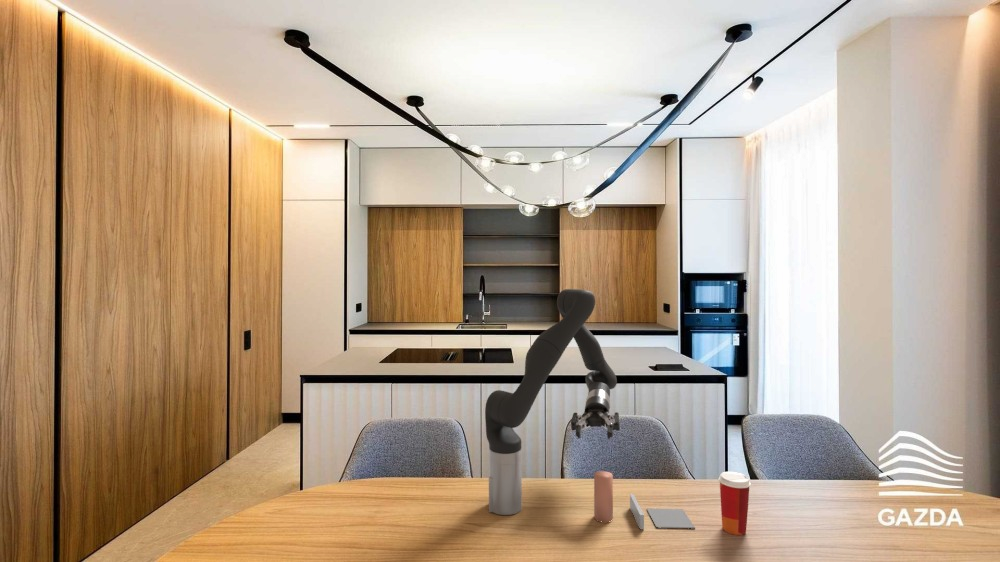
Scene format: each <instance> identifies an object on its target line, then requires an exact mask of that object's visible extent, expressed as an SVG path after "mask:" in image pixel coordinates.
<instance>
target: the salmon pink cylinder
mask: <svg viewBox="0 0 1000 562" xmlns="http://www.w3.org/2000/svg"><path fill="white" fill-rule="evenodd" d="M593 486H594V487H593V490H594V493H593V498H594V499H593V501H594V502H593V515H594V516H593V517H595V518H594V520H595V519H596V520H595V521H597V520H598V521H602V522H608V523H610V522H609V521H611V520H612V519H613V518H614V474H613V473H611V472H609V471H606V470H605V471H604V470H598V471H595V472H594V474H593ZM598 521H597V522H598ZM612 521H613V520H612ZM612 521H611V522H612ZM602 522H601V523H602Z"/></svg>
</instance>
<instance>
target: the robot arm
mask: <svg viewBox="0 0 1000 562" xmlns="http://www.w3.org/2000/svg"><path fill="white" fill-rule="evenodd" d="M556 298H557V300H556V305H557V310H558V312H559V314H560V316H561V319H560V320H559V321H558V322H557V323H555V324H554V325H552V326H550V327H549V328H547V329H546V330H544V331H543V332H541V333H540V334H539V335H538V336H537V338H536V339H535V340H534V342H533V343H532V344H531V345H530V347H529V349H528V351H527V352H526V355H525V362H524V363H525V365H524V375H523V378H522V380H521V382H520V383H519V385H518V386H517V388H516V389H515V391H513V392H509V391H505V390H501V389H499V390H494V391H492V392H491V393H490V394H489V395H488V397H487V400H486V403H485V408H484V416H485V417H484V419H485V432H486V433H485V434H486V436H485V437H486V439H487V442H488V450H489V452H488V454H489V455H488V460H489V467H488V468H489V469H488V471H489V472H488V474H489V475H488V513H493V514H496V515H498V516H499V515H501V516H511V515H514V514H515V515H516V514H518V513H519V512H521V510H522V508H523V507H522V505H523V504H522V503H523V498H522V495H523V494H522V493H523V492H522V484H523V483H522V480H523V479H522V476H523V475H522V439H521V437H520V436H519V434H517V432H515V430H514V429H515V428H517V427H519V426H520V425H521V424H523V422H524V421H525V419H527V416H528V414H529V413H530V411H531V408H532V407H533V406H534V405H533V404H534V403H535V401H536V398H537V397H538V394H539V393H540V391H541V389H542V387H543V386H544V384H545V382H546V381H547V379H548V378H549V376H550V374H551V372H552V371H553V370H554V368H555V366H557V364H558V363H559V360H560V359H561V357H562V356H563V354H564V352H565V351H566V349H567V347H568V346H569V344H570V343H571V342H572V340H573V339H574V341H575V343H576V345H577V347H578V350H579V353H580V355H581V357H582V358H581V359H582V361H583V363H584V366H585V368H586V369H587V370H588V371H590V372H588V373H587V374H586V375H585V384H586V387H587V389H588V392H587V396H586V400H585V405H584V412H583V413H582V414H578V412H573V414H572V417H571V420H570V428H571V431H575V437H577V438H578V439H581V438H582V432H583V430H587V429H589V428H590V427H591V428H593V427H598V428H600V427H602V428H604V430H606V435H607V439H609V440H610V439H611V438H612V437H613V436H614V431H616V432H617V431H618V432H619V431H620V430H621V425H620V422H621V421H620V414H619V412H614V414H610V408H611V400H610V397H611V390H613V389H615V388H616V386H617V383H618V380H617V376H616V373H615V372H614V371H613V369H612V368H611V366H610V365H609V363H608V362H607V360H606V359H605V356H604V353H603V350H602V348H601V345H600V343H599V341H598V340H597V338H596V337H595V336H594V334H593V333H592V332H591V331H590V330H589V329H588V327H587V326H586V325H585V323H586V322H587V320H588V319H589V318H590V317H591V315H592V313H593V311H594V309H595V306H596V298H595V295H594V293H593V292H591V291H590V290H588V289H577V288H576V289H574V288H565V289H562V290H561V291H560V292H559V293H558V296H557V297H556ZM611 420H612V421H613V422H612V421H611Z"/></svg>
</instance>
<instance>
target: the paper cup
mask: <svg viewBox="0 0 1000 562" xmlns="http://www.w3.org/2000/svg"><path fill="white" fill-rule="evenodd" d="M717 481H718V482H719V491H720V494H719V495H720V511H721V514H720V515H721V527H722V529H723V531H724V532H726V533H727V532H728V534H730V535H733V534H734V535H733V536H744V535H745V534H746V532H747V525H748V523H747V522H748V512H749V501H750V500H749V499H750V497H749V496H750V487H751V485H752V484H751V481H750V479H749V478H748V477H747V476H746V475H745V474H744V473H740V472H736V471H723V472H721V473H720V475H719V477H718V479H717ZM743 534H744V535H743Z"/></svg>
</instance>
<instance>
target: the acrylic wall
mask: <svg viewBox="0 0 1000 562" xmlns="http://www.w3.org/2000/svg"><path fill="white" fill-rule="evenodd" d="M629 510H630V511H631V513H633V514H632V516H633V515H634V516H633V518H634V517H635V518H634V520H635V519H636V520H635V522H636V524H637V526H639V527H638V529H639V528H640V529H644V530H645V514H644V511H643V510H642V508H641V506H640V504H639V503H638V501H637V498H636V496H635V494H633V493H630V494H629ZM640 529H639V530H640Z"/></svg>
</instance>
